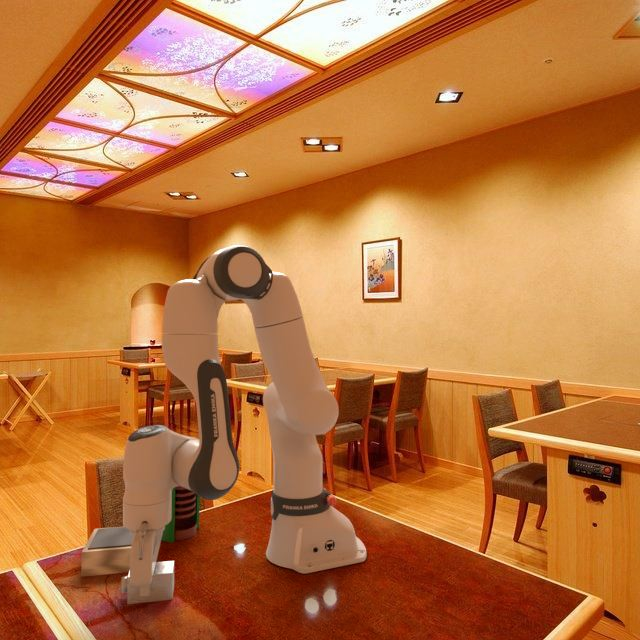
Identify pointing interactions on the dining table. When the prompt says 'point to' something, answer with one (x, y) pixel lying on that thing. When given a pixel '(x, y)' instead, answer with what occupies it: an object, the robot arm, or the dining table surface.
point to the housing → (152, 585)
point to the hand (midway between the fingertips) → (147, 585)
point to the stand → (107, 552)
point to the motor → (182, 515)
